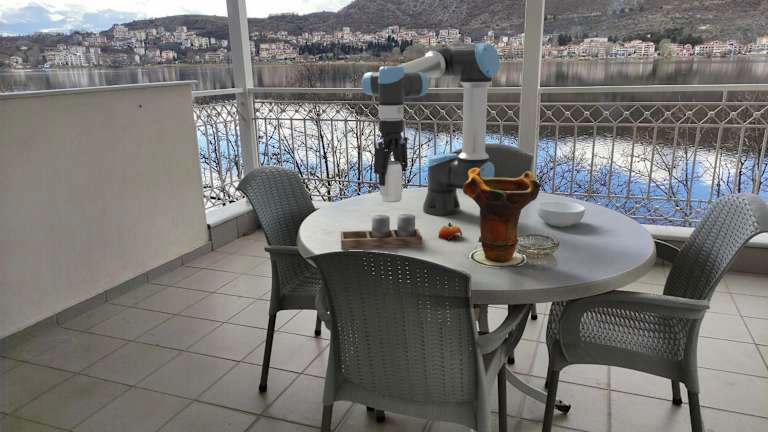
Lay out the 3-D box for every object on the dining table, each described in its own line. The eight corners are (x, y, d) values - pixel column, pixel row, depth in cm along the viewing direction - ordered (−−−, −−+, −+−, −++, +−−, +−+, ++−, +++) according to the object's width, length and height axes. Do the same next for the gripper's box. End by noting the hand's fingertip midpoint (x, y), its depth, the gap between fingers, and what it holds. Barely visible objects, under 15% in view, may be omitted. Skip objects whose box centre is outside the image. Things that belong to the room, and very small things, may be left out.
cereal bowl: (590, 223, 198) (592, 205, 196) (571, 234, 186) (573, 214, 184) (548, 215, 209) (549, 198, 207) (527, 224, 197) (529, 206, 196)
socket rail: (417, 236, 184) (417, 212, 181) (422, 245, 175) (422, 219, 172) (340, 239, 181) (340, 214, 178) (341, 248, 172) (340, 222, 169)
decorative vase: (549, 267, 155) (552, 174, 147) (472, 274, 153) (471, 180, 145) (525, 244, 175) (527, 160, 167) (456, 250, 173) (455, 166, 165)
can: (398, 203, 163) (398, 164, 159) (378, 201, 165) (378, 163, 161) (404, 198, 168) (404, 161, 165) (385, 196, 171) (384, 160, 167)
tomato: (465, 230, 186) (460, 219, 180) (463, 247, 182) (458, 236, 177) (443, 231, 189) (438, 220, 183) (441, 248, 185) (435, 237, 180)
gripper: (379, 122, 150) (380, 201, 157) (420, 117, 164) (419, 189, 171) (360, 121, 155) (361, 197, 161) (401, 115, 169) (401, 186, 175)
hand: (391, 193), depth 166 cm, fingers closed on can, 6 cm apart
